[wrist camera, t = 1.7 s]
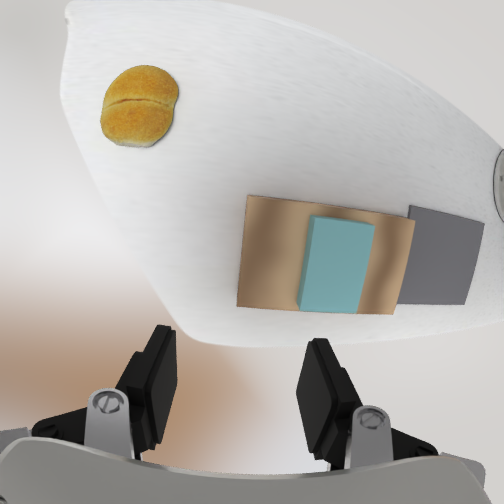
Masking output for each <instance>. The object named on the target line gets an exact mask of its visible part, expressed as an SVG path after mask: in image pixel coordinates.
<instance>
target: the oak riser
mask: <svg viewBox="0 0 504 504" xmlns="http://www.w3.org/2000/svg"><path fill="white" fill-rule="evenodd" d="M310 215H318V216H325V217H333V218H340V219H347V220H354V221H361V222H367V223H370V224H372V225H374V226H375V230H374V236H373V241H372V247H371V252H370V257H369V261H368V266H367V271H366V275H365V280H364V284H363V288H362V293H361V297H360V301H359V305H358V308H357V312H356V313H348V314H392V315H393V313H394V310H395V307H396V303H397V300H398V296H399V293H400V289H401V285H402V281H403V277H404V273H405V269H406V265H407V261H408V256H409V252H410V247H411V242H412V237H413V232H414V226H415V221H414V220H411V219H408V218H405V217H400V216H395V215H389V214H384V213H378V212H372V211H366V210H360V209H353V208H347V207H340V206H333V205H326V204H319V203H312V202H304V201H297V200H289V199H280V198H272V197H263V196H253V195H247V204H246V214H245V223H244V233H243V243H242V253H241V263H240V273H239V283H238V293H237V307H248V308H260V309H273V310H288V311H300V310H299V308H298V305H297V303H296V301H297V296H298V290H299V284H300V278H301V272H302V266H303V260H304V253H305V247H306V240H307V233H308V227H309V219H310ZM304 312H310V311H304ZM323 313H330V312H323Z"/></svg>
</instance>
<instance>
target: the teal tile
mask: <svg viewBox="0 0 504 504" xmlns="http://www.w3.org/2000/svg"><path fill="white" fill-rule="evenodd" d="M374 230H375V226H374V225H372V224H370V223H367V222H361V221H354V220H347V219H340V218H333V217H325V216H318V215H310V219H309V227H308V233H307V240H306V247H305V253H304V260H303V266H302V272H301V278H300V284H299V290H298V296H297V301H296V303H297V305H298V308H299V310H300V311H310V312H330V313H356V312H357V308H358V305H359V301H360V297H361V293H362V288H363V284H364V280H365V275H366V271H367V266H368V261H369V257H370V252H371V247H372V241H373V236H374Z"/></svg>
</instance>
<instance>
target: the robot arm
mask: <svg viewBox="0 0 504 504" xmlns="http://www.w3.org/2000/svg"><path fill="white" fill-rule="evenodd" d="M494 193H495V200H496V205H497V209H498V212H499V214H500V217H501V218H502V220H503V221H504V150H503V151H502V152H501V154H500V156H499V158H498V160H497V163H496V168H495V175H494ZM176 387H177V360H176V331H175V330H171V326H165V325H157V326H156V328H155V330H154V332H153V334H152V336H151V338H150V340H149V341H148V344H147V345H146V347H145V349H144V351H143V352H138V351H136V352H135V353H134V354H133V356H132V358H131V359H130V361H129V363H128V365H127V367H126V369H125V371H124V372H123V374H122V376H121V378H120V380H119V382H118V384H117V385H116V387H115V389H113V388H104V389H100V390H97V391H95V392H94V393H93V394H92V395H91V396H90V397H89V400H88V407H86V408H82V409H79V410H76V411H72V412H69V413H65V414H62V415H58V416H54V417H51V418H46V419H43V420H41V421H39V422H37V423H36V424H35V425H34V427H33V428H32V430H28V429H27V427H25V428H18V429H11V430H4V431H0V504H492V503H491V501H490V500H489V498H488V496H487V495H486V493H485V491H484V489H483V488H484V482H485V469H484V467H483V465H482V464H481V463H479V462H477V461H473V460H469V459H465V458H461V457H457V456H454V455H450V454H447V453H444V452H442V453H441V454H440V455H439V454H438V452H437V450H436V448H435V447H434V446H433V445H431V444H429V443H427V442H425V441H422V440H420V439H417V438H415V437H412V436H410V435H407V434H405V433H403V432H400V431H398V430H396V429H393V428H391V425H390V419H389V416H388V414H387V413H386V412H385V411H383V410H382V409H380V408H378V407H375V406H370V405H369V406H368V405H367V406H363V404H362V402H361V400H360V398H359V396H358V394H357V392H356V390H355V388H354V385H353V384H352V381H351V380H350V377H349V375H348V373H347V371H346V369H345V368H343V367H341V366H340V364H339V362H338V360H337V358H336V356H335V354H334V352H333V350H332V347H331V345H330V343H329V341H328V339H326V338H314V339H313V340H312V341H309V342H308V345H307V349H306V353H305V358H304V362H303V366H302V370H301V373H300V377H299V381H298V385H297V390H296V396H297V400H298V405H299V409H300V414H301V418H302V422H303V427H304V431H305V436H306V440H307V445H308V450H309V452H310V453H313V454H314V458H315V460H322V459H324V460H325V461H327V462H328V467H327V472H316V473H303V474H279V475H253V474H251V475H250V474H229V473H217V472H207V471H197V470H190V469H183V468H176V467H170V466H164V465H159V464H154V463H149V462H144V461H143V459H142V452H144V451H146V450H148V449H150V450H155V446H156V443H157V444H161V442H162V438H163V434H164V430H165V427H166V423H167V419H168V416H169V412H170V408H171V405H172V401H173V397H174V394H175V390H176Z"/></svg>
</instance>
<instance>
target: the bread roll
mask: <svg viewBox="0 0 504 504" xmlns="http://www.w3.org/2000/svg"><path fill="white" fill-rule="evenodd" d="M177 96H178V86H177V84H176V82H175V80H174V79H173V78H172V77H171V76H170V75H169V74H168V73H167V72H166V71H165V70H162V69H160V68H158V67H155V66H149V65H141V66H136V67H132V68H130V69H128V70H126V71H124V72H123V73H122V74H120V75H119V76H118V77H117V78H116V79H115V80H114V81H113V82H112V84H111V85H110V86H109V88H108V90H107V92H106V94H105V97H104V101H103V108H102V114H101V120H100V123H101V128H102V131H103V134H104V135H105V136H106V137H107V138H108V139H109V140H110V141H112V142H113V143H115V144H116V145H121V146H129V147H150V146H152V145H153V144H154V143H155V142H156V141H157V140H159V139H160V138H161V137H162V136H163V135H164V134H165V133H166V132H167V130H168V128H169V126H170V124H171V122H172V118H173V109H174V104H175V102H176V99H177Z"/></svg>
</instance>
